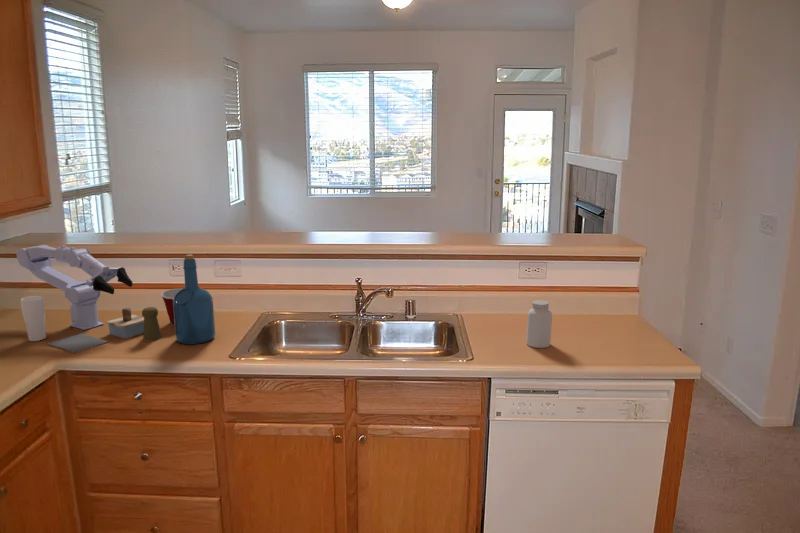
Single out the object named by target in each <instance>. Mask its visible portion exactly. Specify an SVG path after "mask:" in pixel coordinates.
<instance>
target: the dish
mask: <svg viewBox="0 0 800 533" xmlns="http://www.w3.org/2000/svg"><path fill="white" fill-rule="evenodd" d="M108 331H109V335H112V336H115V337H119V338H122V339H128V338H132V337H134V336H137V335H141V334H144V322H143V323H139V324H136V325H133V326H130V327H126V328H121V327H117V326H113V325H110V324H108Z"/></svg>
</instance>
